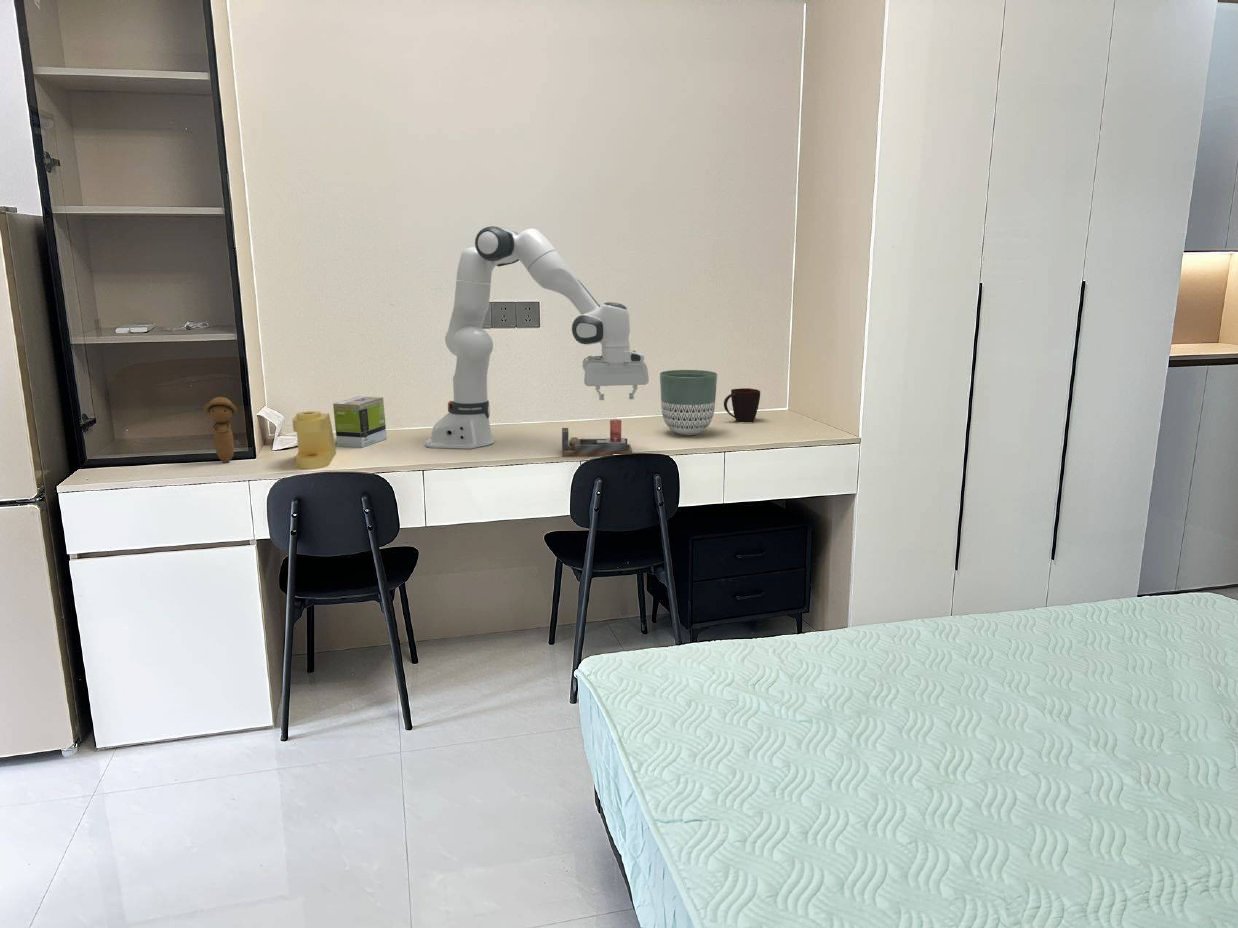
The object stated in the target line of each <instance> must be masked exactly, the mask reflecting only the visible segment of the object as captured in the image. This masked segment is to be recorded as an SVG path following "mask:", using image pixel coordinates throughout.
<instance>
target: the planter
mask: <svg viewBox="0 0 1238 928" xmlns="http://www.w3.org/2000/svg"><path fill="white" fill-rule="evenodd" d="M659 383H660V384H659V385H660V406H661V414H662V418H663V422H664V423H665V425H666V427H668V428H669V429H670V430H671V431H672V432H674V433H675V434H678V435H681V436H694V435H699V434H700V433H702V432H704V430H706V429H707V428H708V427H709V425H710V424H711V422H712V420H713V418H714V414H715V407H716V398H717V397H716V395H717V385H718V373H717V372H714V371H712V370H711V371H710V370H700V369H673V370H672V369H671V370H665V371H660V373H659Z"/></svg>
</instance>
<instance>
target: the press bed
mask: <svg viewBox="0 0 1238 928" xmlns="http://www.w3.org/2000/svg"><path fill="white" fill-rule="evenodd" d="M569 438H570V437H569V427H562V428H561V454H562V458H563V457H565V458H566V457H569V458H571V457H572V458H574V457H575V458H576V457H607V456H606V455H613V454H633V453H634V452H633V448H632V446H631V444H630V443H628V438H625V437H624V438H625V441H626V444H603V445H597V440H606V438H578V439H579V440H580V445H575V446H570V445H569V441H570V439H569Z"/></svg>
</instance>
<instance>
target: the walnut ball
mask: <svg viewBox="0 0 1238 928" xmlns="http://www.w3.org/2000/svg"><path fill="white" fill-rule="evenodd" d="M579 439H580V438H578V437H575V436H574V437H571V438H570V439H569V445H570V446H575V445H580V440H579Z"/></svg>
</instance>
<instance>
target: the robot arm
mask: <svg viewBox="0 0 1238 928" xmlns="http://www.w3.org/2000/svg"><path fill="white" fill-rule="evenodd" d="M518 262H520V263H522V265H523V267H524V268H525V269H526V271H527V272H528V274H529V275H530V276H531V278H532V279H533V280H534V281H535V282H536V283H537V284H538V285H539V286H540V287H541V288H543V289H545V290H548V291H552V292H554V293H558V294H561V295H562V296H564V297H566V298H567V299H568V300H569V301H570V302H571V304H572V305H573V306H574V307H575V308H576V310H577V311H578V312H579V313H580V315H579V316H577V317H576V318H575V319H574V320H573V322H572V325H571V333H572V336H573V338H574V340H575V341H576V342H577V343H579V344H582V345H586V346H587V345H588V346H589V345H595V344H599V343H600V344H601V355H596V356H592V355H588V356H587V357H585V358H584V359H583V360H582V369H583V370H584V374H583V375H584V377H583V378H584V380H583V384H584V386H586V387H595V391H596V392H597V394H598V399H599V401H605V394H604V393H601V391H600V390H601V387H606V386H607V387H608V386H609V387H610V386H612V387H613V386H632V389H633V390H632V391H631V392H629V393H628V395H629V396H628V399H629V400H635V393H636V392H637V390H638V386H645V385H648V383H649V380H650V379H649V370H648V367H647V364H646V363H645V362H644V361H645V355H644V353H642V352H639V351H636V350H632V349H631V343H630V340H629V337H630V332H631V331H630V330H631V329H630V327H631V326H630V324H631V323H630V315H629V310H628V307H627V306H625V305H624V304H622V303H618V302H610V301H609V302H604V303H602V304H601V305H600V304H599V303H598V301H596V299H595V298H594V296H593V295H592V294H591V293H590V292H589V291H588V289H587V288H586V287H585V286H584V285H583V283H582V282H581V281H580V280H579V279H578V277H577V276H576V275H575V274H574V272H573V271H572V270H571V269H570V268H569V267H568V265H567V264H566V262H565V261H564V259H563V258H562V256H561V255H560V253H559V252H558V251H557V250H556V248H555V247H554V245H553V244H552V243H551V242H550V241H549V240H548V239H547V237H546V236H545V235H544V234H543V233H542V232H540V231H539V230H538V229H536V228H527V229H523V230H522V231H520V233H518V232H515V231H513V230H512V229H511V230H510V229H509V228H505V227H500V226H494V225H492V226H486V227H484V228H482V229H480V231H479V232H478V233H476V236H475V240H474V246H471V247H470V246H469V247H467V248H465V249H463V251H462V252H461V254H460V257H459V262H458V266H457V271H456V272H457V273H456V278H455V279H456V280H455V292H454V301H453V309H452V311H451V312H452V313H451V316H450V320H449V325H448V329H447V332H446V334H445V338H444V342H445V345H446V347H447V350H448V351H449V352H450V353H451V354H452V355H454V356H455V357H456V363H455V370H454V374H453V377H452V387H453V388H452V389H453V392H452V393H453V400H449V401H448V403H447V412H448V413H446V415H444V416H443V417H442V418H441V419H439V420H438V421H437V422H436V423H435V424H434V425H433V427H432V431H431V437H429V438H427V439H426V440H425V443H424V445H425V447H427V448H431V449H432V448H433V449H434V448H437V449H465V450H466V449H467V450H468V449H471V450H472V449H476V448H480V447H485V446H489V445H491V444H494V442H495V440H494V438H493V434H492V431H491V425H490V424H491V423H490V414H491V413H490V412H491V411H490V410H491V409H490V401H489V399H488V373H489V365H490V358H491V354H492V352H493V349H494V343H493V338H492V337H491V335H490V334H489V333H488V332H487V331H486V330H484V328H483V324H484V321H485V319H486V315H487V312H488V310H489V307H490V297H491V287H492V286H491V285H492V274H493V270H494V269H495V267H499V268H500V267H504V266H509V265H512V264H514V263H515V264H516V263H518Z"/></svg>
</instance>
